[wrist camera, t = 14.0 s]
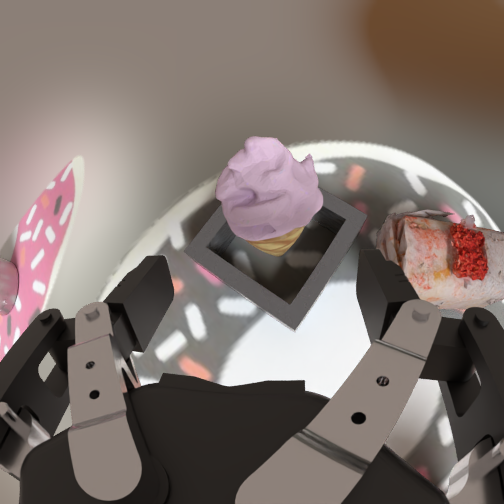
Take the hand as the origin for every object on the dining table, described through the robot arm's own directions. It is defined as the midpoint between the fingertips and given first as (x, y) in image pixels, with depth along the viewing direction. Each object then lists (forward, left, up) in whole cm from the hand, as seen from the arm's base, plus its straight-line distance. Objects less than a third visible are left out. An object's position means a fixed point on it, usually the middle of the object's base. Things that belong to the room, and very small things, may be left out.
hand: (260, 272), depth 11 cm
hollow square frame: (-4, +5, -16) cm, 17 cm away
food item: (+11, +12, -16) cm, 23 cm away
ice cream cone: (-4, +5, -16) cm, 17 cm away
